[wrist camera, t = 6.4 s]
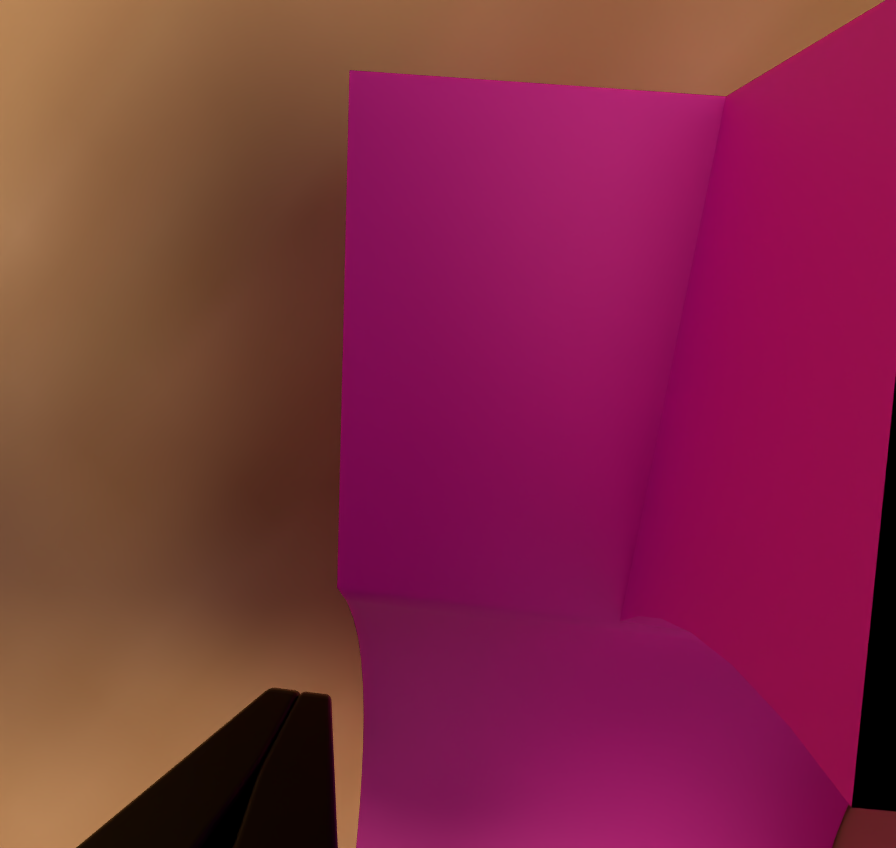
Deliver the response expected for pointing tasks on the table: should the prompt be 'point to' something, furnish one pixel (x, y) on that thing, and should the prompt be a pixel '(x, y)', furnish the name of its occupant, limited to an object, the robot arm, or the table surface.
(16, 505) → the table surface
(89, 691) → the table surface
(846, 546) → the toy block
